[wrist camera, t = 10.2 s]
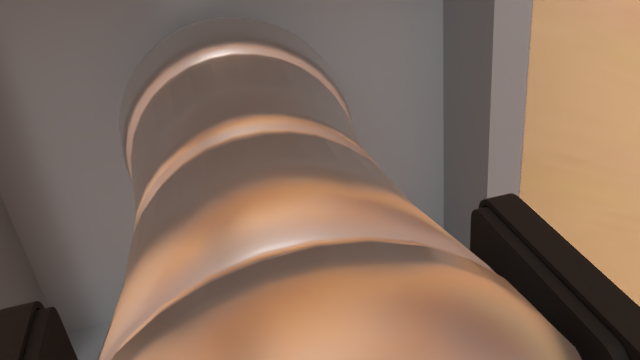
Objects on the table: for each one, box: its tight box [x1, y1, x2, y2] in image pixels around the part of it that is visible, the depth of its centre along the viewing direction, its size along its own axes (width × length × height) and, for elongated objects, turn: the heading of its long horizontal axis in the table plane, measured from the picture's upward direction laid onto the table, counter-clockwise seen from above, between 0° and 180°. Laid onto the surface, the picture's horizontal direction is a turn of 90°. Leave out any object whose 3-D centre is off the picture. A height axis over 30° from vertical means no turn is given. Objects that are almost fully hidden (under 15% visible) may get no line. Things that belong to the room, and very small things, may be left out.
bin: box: [0, 0, 533, 360], centre depth 19 cm, size 18×18×4 cm
